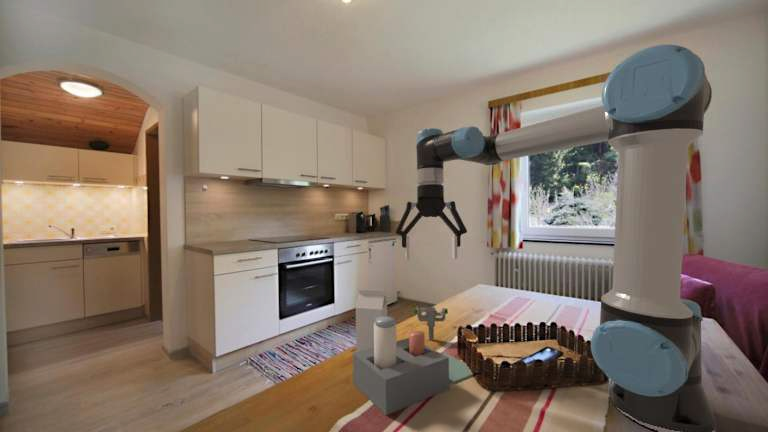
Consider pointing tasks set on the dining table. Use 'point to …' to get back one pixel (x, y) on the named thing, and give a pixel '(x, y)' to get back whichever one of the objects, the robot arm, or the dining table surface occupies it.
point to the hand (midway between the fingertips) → (431, 258)
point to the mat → (457, 369)
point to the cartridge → (385, 342)
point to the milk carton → (368, 316)
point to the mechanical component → (430, 317)
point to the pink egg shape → (416, 343)
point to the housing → (401, 377)
